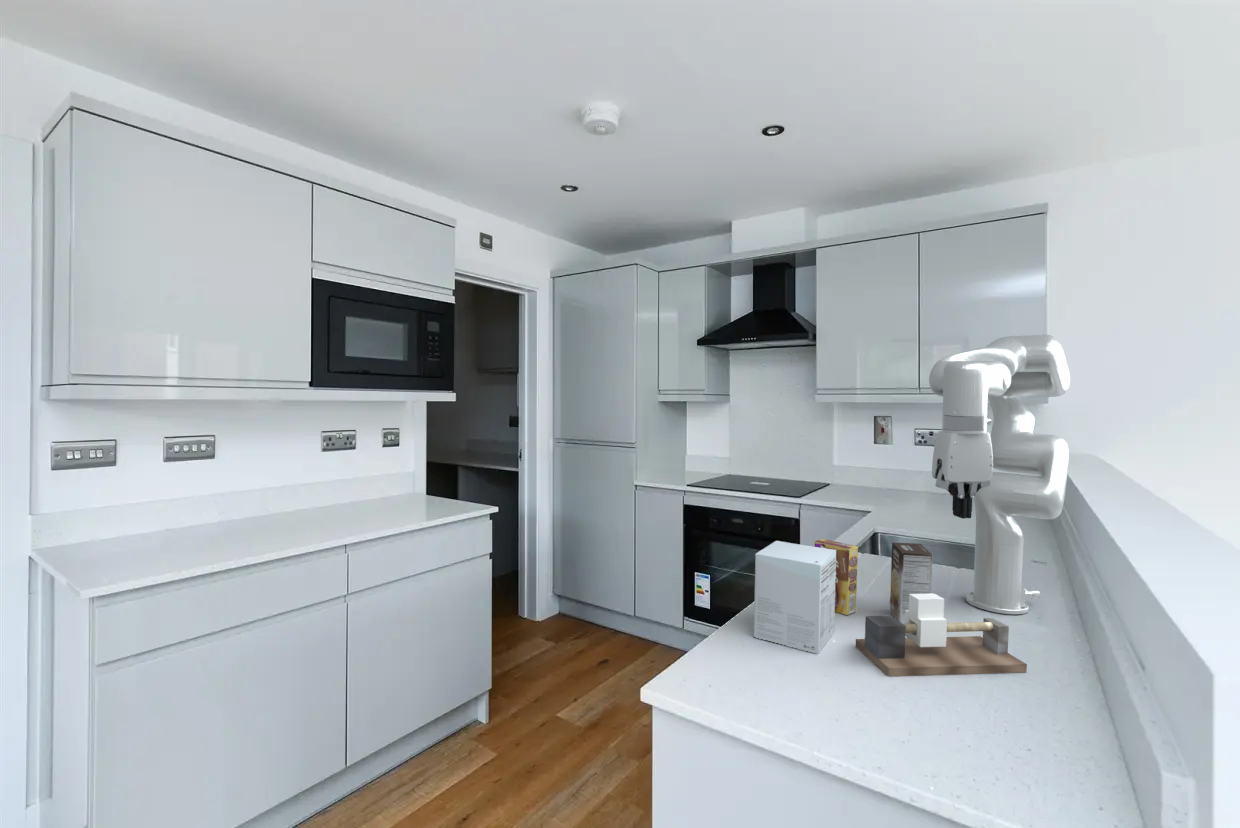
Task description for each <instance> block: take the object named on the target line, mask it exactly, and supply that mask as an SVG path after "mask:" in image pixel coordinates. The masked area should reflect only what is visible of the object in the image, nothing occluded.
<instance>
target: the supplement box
mask: <svg viewBox="0 0 1240 828" xmlns="http://www.w3.org/2000/svg"><path fill="white" fill-rule="evenodd" d="M754 557H755V558H754V559H755V561H754V562H755V563H754V565H755V566H754V567H755V568H754V607H753V635H752V636H754V637H756V638H755V639H757V638H759V639H758V640H761V639H763V640H762V641H764V640H768V641H772V642H775V643H774V644H776V643H779V644H778V645H780V644H782V645H781V646H784V645H786V646H785V647H788V646H789V648H792V647H793V648H792V649H796V648H797V650H800V651H805V652H807V651H808V653H811V654H817V655H818V654H820V652H821V651H822V649H823V648H824V647H825V645H826V644H827V643H828V641H829V640H830V638H832V636H833V634H835V615H836V614H835V613H836V612H835V580H836V550H833V549H826V548H820V547H815V546H813V545H806V544H798V543H793V542H792V543H791V542H787V541H780V540H775V541H773V542H771V543H770V544H769V545H767V546H765V547H764V548H762V549H761V550H759V551H757V552H756V553H755V555H754ZM754 637H753V638H754ZM768 641H767V642H768ZM772 642H771V643H772Z"/></svg>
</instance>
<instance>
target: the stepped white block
mask: <svg viewBox="0 0 1240 828" xmlns="http://www.w3.org/2000/svg"><path fill="white" fill-rule="evenodd" d="M944 611H945V598H944V597H941V596H939V595H938V594H936V593H932V592H931V594H909V610H906V611H905V624H917V633H905V638H908V639H910V640H911V641H913V642H914V643H915V644H917V645H918V646H919V647H946V637H947V634H948V632H947V623H948V619H947V618H945V617H944V616H945V612H944Z"/></svg>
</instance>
